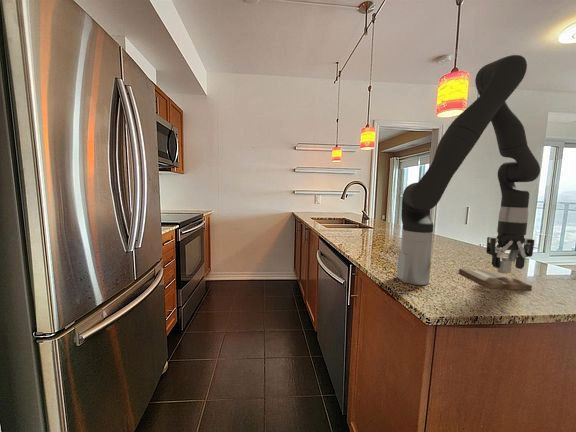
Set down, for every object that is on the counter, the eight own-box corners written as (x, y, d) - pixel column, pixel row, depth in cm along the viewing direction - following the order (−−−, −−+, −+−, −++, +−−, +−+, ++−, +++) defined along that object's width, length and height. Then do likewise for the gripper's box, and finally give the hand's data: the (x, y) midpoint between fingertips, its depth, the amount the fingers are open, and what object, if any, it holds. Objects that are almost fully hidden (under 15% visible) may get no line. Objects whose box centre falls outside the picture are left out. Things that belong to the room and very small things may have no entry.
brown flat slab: (489, 288, 83) (489, 282, 83) (459, 272, 99) (459, 268, 98) (531, 289, 82) (532, 284, 82) (494, 273, 98) (494, 269, 98)
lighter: (502, 273, 88) (505, 250, 87) (497, 272, 89) (499, 249, 89) (516, 272, 90) (519, 249, 89) (511, 270, 92) (513, 248, 91)
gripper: (498, 221, 85) (493, 270, 86) (545, 222, 84) (538, 272, 85) (482, 218, 92) (478, 263, 94) (525, 219, 91) (520, 265, 93)
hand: (507, 267), depth 89 cm, fingers closed on lighter, 7 cm apart
